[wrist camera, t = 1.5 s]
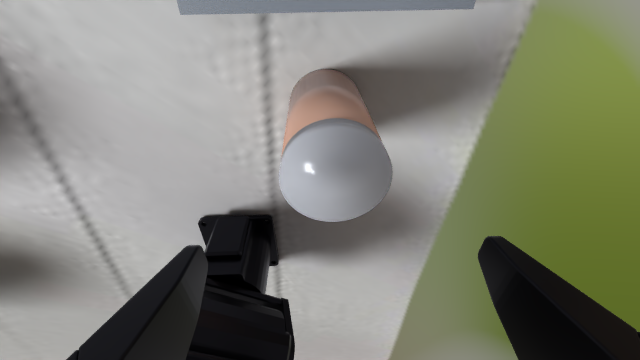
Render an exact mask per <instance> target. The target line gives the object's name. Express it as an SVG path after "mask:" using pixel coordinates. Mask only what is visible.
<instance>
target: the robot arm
mask: <svg viewBox="0 0 640 360" xmlns="http://www.w3.org/2000/svg"><path fill="white" fill-rule="evenodd" d="M265 220H268V221H265ZM203 222H204V223H203ZM198 225H199V228H200V231H201V233H202V236H203V239H204V242H205V245H206V249H205V252H204V251H203V248H202V247H201V246H200V245H189V246H186V247H185V248H184V249H183V250H182V251H181V252H180V253H178V254H177V255H176V256H175V257H174V258H173V259H172V260H171V261H170V262H169V263H168V264H167V265H166V266H165V267H164V268H163V269H162V270H161V271H159V272H158V273H157V274H156V275H155V276H154V277H153V278H152V279H151V280H150V281H149V282H148V283H147V284H146V285H145V286H144V287H143V288H142V289H140V290H139V291H138V292H137V293H136V294H135V295H134V296H133V297H132V298H131V299H130V300H129V301H128V302H127V303H126V304H125V305H124V306H123V307H121V308H120V309H119V310H118V311H117V312H116V313H115V314H114V315H113V316H112V317H111V318H110V319H109V320H108V321H107V322H106V323H105V324H104V325H102V326H101V327H100V328H99V329H98V330H97V331H96V332H95V333H94V334H93V335H92V336H91V337H90V338H89V339H88V340H87V341H86V342H85V343H83V344H82V345H81V346H80V347H79V350H76V351H75V352H74V353H73V354H72V355H71V356H70V357H69V358H67V359H66V360H294V352H295V343H294V335H293V328H292V322H291V315H290V308H289V302H288V299H284V298H281V299H280V298H277V297H273V296H270V295H266V294H265V292H266V285H267V277H268V270H269V266H276V265H278V262H279V257H278V250H277V244H276V237H275V230H274V223H273V218H272V217H271V216H269V215H253V216H225V217H203V218H201V219H200V220H199V223H198ZM478 260H479V263H480V266H481V269H482V272H483V275H484V278H485V281H486V284H487V287H488V290H489V293H490V296H491V299H492V302H493V304H494V307H495V309H496V311H497V314H498V316H499V318H500V320H501V322H502V325H503V327H504V329H505V331H506V333H507V336H508V338H509V340H510V342H511V344H512V346H513V349H514V351H515V353H516V355H517V357H518V360H640V332H637V331H636V329H634V328H633V327H631V326H630V325H629V324H627V323H626V322H624V321H623V320H622V319H620V318H619V317H617V316H616V315H614V314H613V313H611V312H610V311H608V310H607V309H605V308H604V307H603V306H601V305H600V304H598V303H597V302H595V301H594V300H593V299H591V298H590V297H588V296H587V295H585V294H584V293H582V292H581V291H580V290H578V289H577V288H575V287H574V286H572V285H571V284H570V283H568V282H567V281H565V280H564V279H562V278H561V277H559V276H558V275H557V274H555V273H553V272H552V271H550V270H549V269H548V268H546V267H545V266H543V265H542V264H541V263H539V262H538V261H536V260H535V259H533V258H532V257H531V256H529V255H528V254H526V253H525V252H523V251H522V250H520V249H519V248H518V247H516V246H515V245H513V244H512V243H510V242H509V241H507V240H506V239H505V238H503V237H501V236H488V237H487V238H485V240H484V242H483V244H482V246H481V248H480V250H479V253H478Z"/></svg>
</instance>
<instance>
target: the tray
mask: <svg viewBox="0 0 640 360" xmlns="http://www.w3.org/2000/svg"><path fill="white" fill-rule="evenodd" d="M177 3H178V7H179V11H180V15H191V14H242V13H293V12H344V11H394V10H445V9H473V8H474V4H475V0H177Z"/></svg>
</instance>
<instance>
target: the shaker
mask: <svg viewBox="0 0 640 360" xmlns="http://www.w3.org/2000/svg"><path fill="white" fill-rule="evenodd" d="M391 180H392V164H391V160H390V158H389V156H388V153H387V151H386V149H385V147H384V145H383V143H382V140H381V138H380V136H379V134H378V132H377V130H376V127H375V125H374V123H373V121H372V119H371V117H370V114H369V112H368V110H367V108H366V106H365V104H364V101H363V99H362V97H361V95H360V93H359V91H358V88H357V87H356V85H355V83H354V82H353V81H352V80H351V79H350V78H349V77H348V76H346V75H345V74H343V73H341V72H339V71H336V70H331V69H320V70H316V71H313V72H310V73H308V74H307V75H305V76H304V77H302V78H301V79H300V80H299V81H298V82H297V84H296V85H295V87H294V88H293V90H292V93H291V96H290V101H289V108H288V115H287V122H286V129H285V136H284V143H283V150H282V157H281V164H280V171H279V184H280V189H281V192H282V194H283V196H284V198H285V199H286V201H287V202H288V203H289V204H290V205H291V206H292V207H293V208H294V209H295V210H296V211H298V212H299V213H301V214H302V215H304V216H307V217H309V218H312V219H315V220H319V221H326V222H338V221H346V220H350V219H354V218H356V217H359V216H361V215H363V214H365V213H367V212H369V211H370V210H372V209H373V208H374V207H375V206H377V205H378V204H379V203H380V201H381V200H382V199H383V198H384V196H385V195H386V193H387V191H388V190H389V187H390V185H391Z"/></svg>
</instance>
